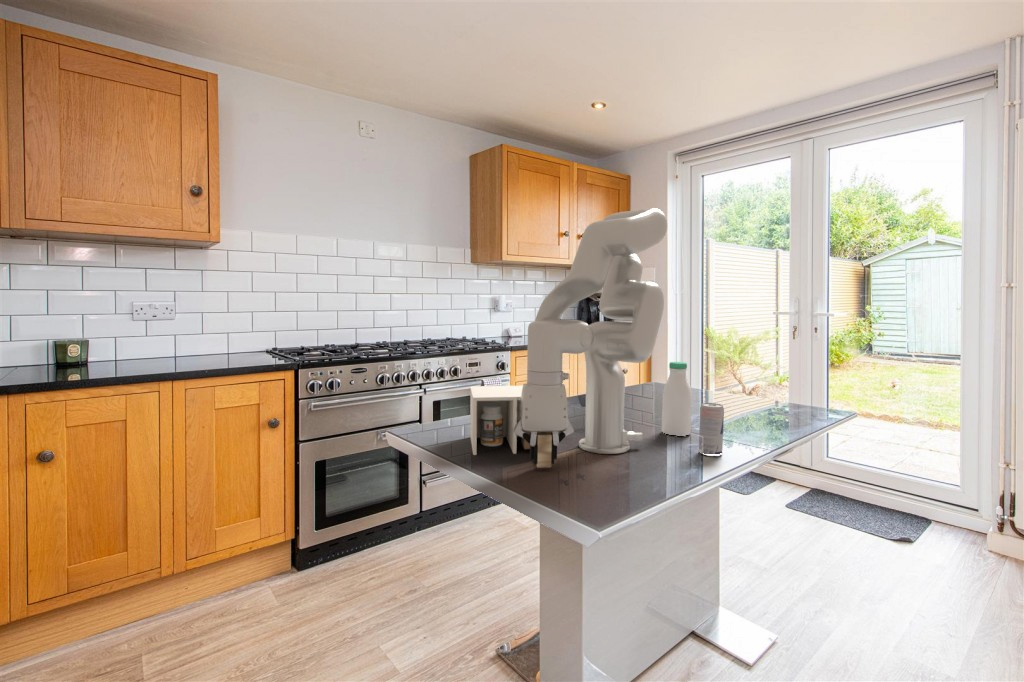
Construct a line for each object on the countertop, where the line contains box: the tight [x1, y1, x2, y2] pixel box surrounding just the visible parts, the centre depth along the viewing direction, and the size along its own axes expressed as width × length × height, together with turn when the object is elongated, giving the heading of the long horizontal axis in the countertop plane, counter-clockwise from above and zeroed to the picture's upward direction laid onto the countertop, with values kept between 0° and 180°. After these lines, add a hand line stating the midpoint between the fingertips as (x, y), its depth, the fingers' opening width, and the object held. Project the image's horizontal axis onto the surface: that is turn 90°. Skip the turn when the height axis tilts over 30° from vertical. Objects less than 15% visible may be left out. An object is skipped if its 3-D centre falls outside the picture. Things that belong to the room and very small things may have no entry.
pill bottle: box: [480, 404, 504, 447], centre depth 132 cm, size 6×6×10 cm
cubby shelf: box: [469, 385, 551, 456], centre depth 131 cm, size 20×16×14 cm
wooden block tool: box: [521, 429, 552, 468], centre depth 120 cm, size 5×19×7 cm, turn 6°
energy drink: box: [698, 402, 725, 454], centre depth 124 cm, size 5×5×12 cm
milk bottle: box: [661, 361, 693, 436], centre depth 143 cm, size 8×8×20 cm
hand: (543, 461), depth 112 cm, fingers closed on wooden block tool, 3 cm apart
